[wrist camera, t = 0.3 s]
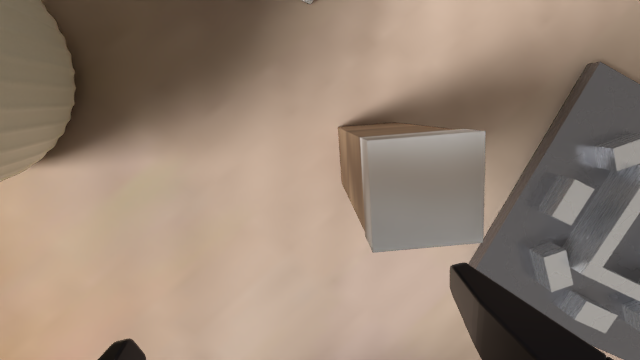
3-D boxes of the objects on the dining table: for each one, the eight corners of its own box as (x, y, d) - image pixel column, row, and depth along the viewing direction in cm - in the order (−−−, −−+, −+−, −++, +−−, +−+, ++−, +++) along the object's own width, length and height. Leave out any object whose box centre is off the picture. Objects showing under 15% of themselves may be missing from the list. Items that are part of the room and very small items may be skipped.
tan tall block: (397, 178, 24) (483, 242, 12) (341, 183, 24) (372, 252, 12) (395, 121, 23) (485, 130, 11) (337, 126, 23) (367, 140, 11)
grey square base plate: (639, 362, 28) (686, 397, 24) (457, 282, 26) (480, 308, 22) (780, 172, 25) (855, 182, 21) (587, 64, 23) (637, 55, 19)
